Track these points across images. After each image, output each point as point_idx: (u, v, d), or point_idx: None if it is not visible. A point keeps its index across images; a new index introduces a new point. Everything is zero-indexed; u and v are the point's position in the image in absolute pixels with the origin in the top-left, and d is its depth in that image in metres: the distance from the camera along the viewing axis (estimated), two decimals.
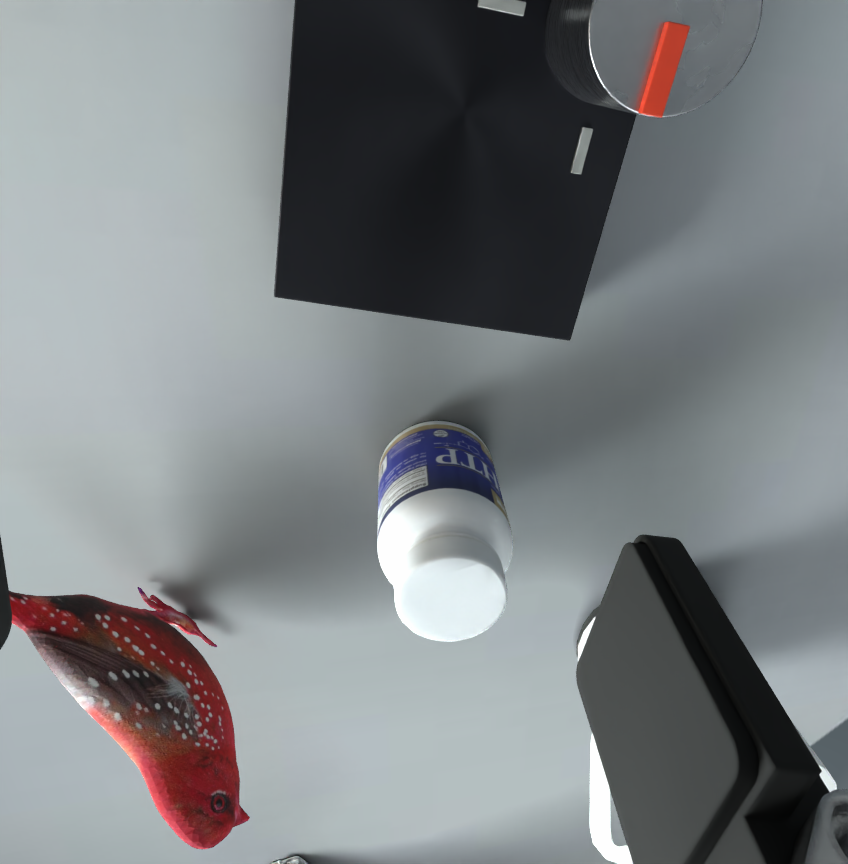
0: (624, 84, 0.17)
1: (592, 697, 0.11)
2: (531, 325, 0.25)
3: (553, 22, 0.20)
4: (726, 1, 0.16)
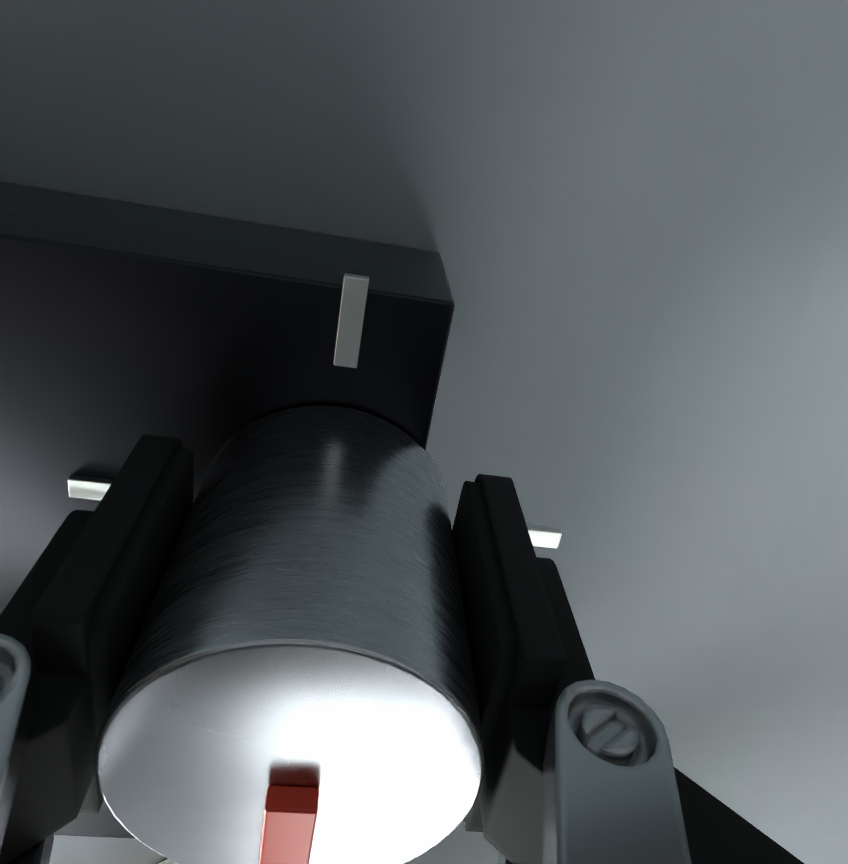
0: (214, 857, 0.08)
1: None
2: None
3: None
4: (400, 749, 0.07)
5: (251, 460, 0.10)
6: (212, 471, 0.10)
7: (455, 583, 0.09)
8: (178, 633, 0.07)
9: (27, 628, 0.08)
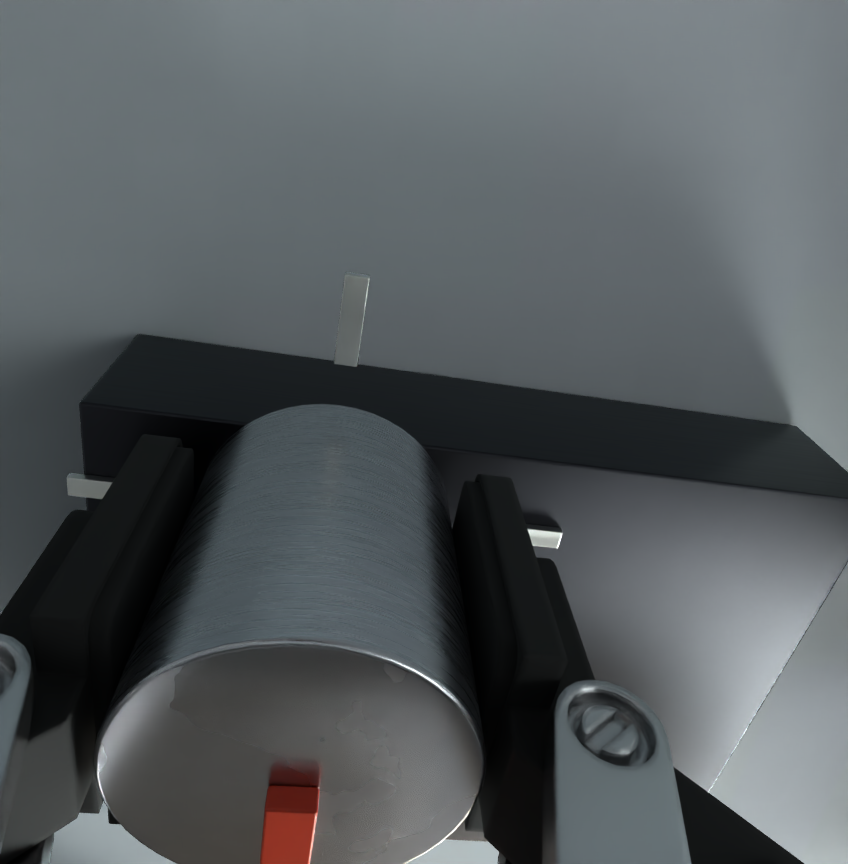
0: (215, 858, 0.08)
1: None
2: (826, 570, 0.13)
3: None
4: (400, 748, 0.07)
5: (249, 459, 0.10)
6: (211, 471, 0.10)
7: (455, 581, 0.09)
8: (175, 633, 0.07)
9: (27, 628, 0.08)
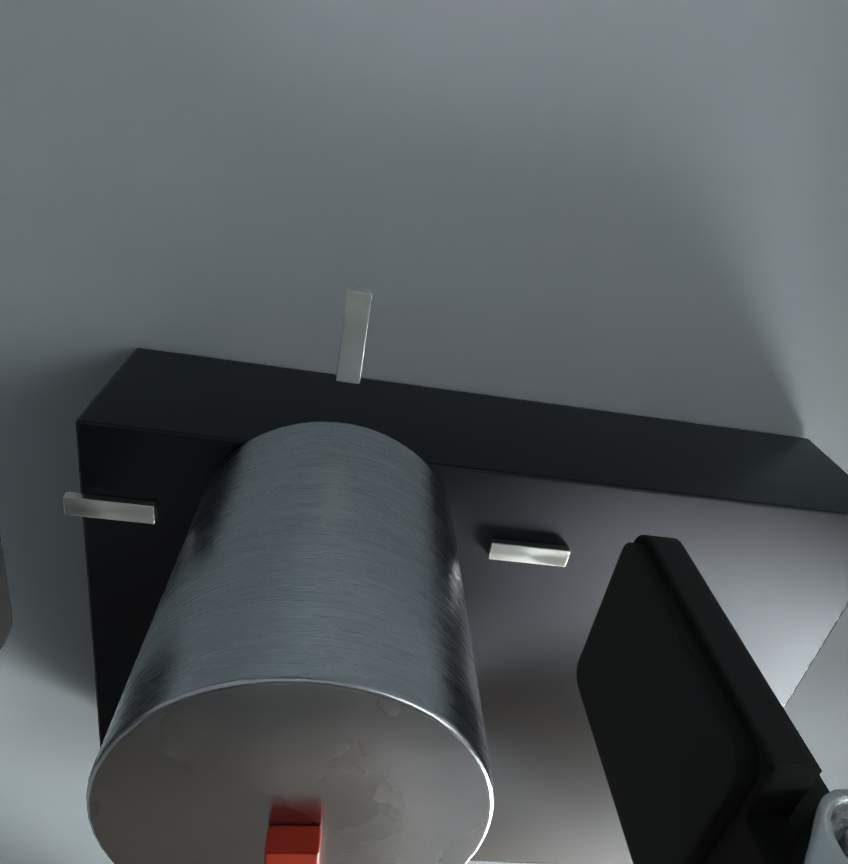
0: None
1: (592, 697, 0.11)
2: (840, 588, 0.13)
3: None
4: (403, 782, 0.07)
5: (242, 484, 0.09)
6: (205, 496, 0.10)
7: (457, 601, 0.09)
8: (163, 673, 0.07)
9: None
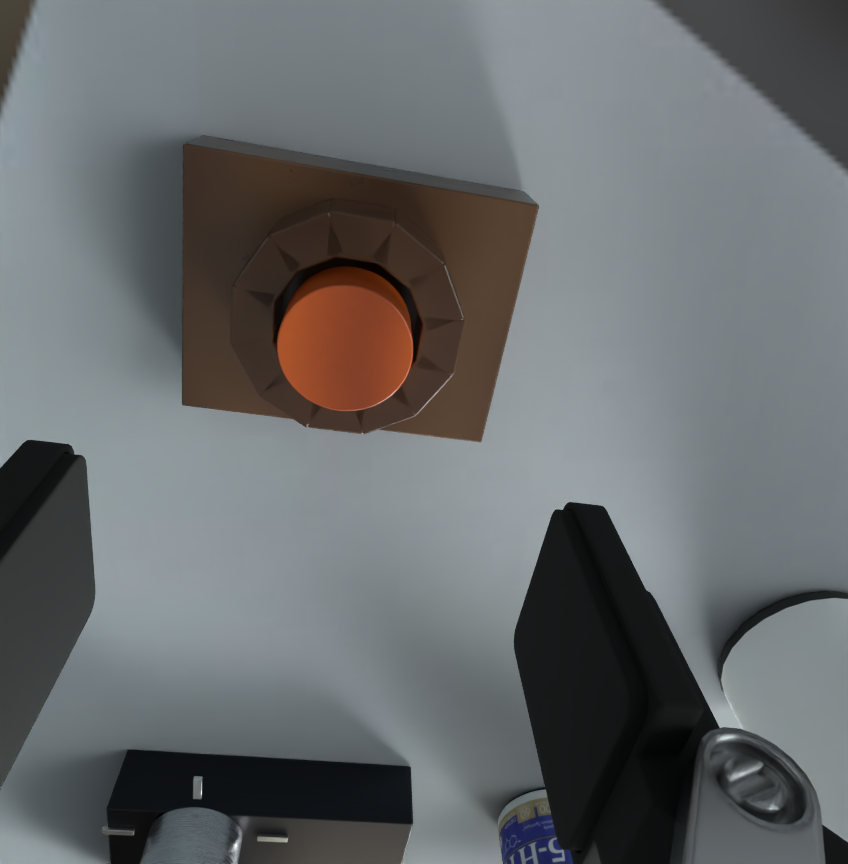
0: None
1: (525, 660, 0.11)
2: (399, 844, 0.33)
3: None
4: None
5: (160, 842, 0.30)
6: (150, 837, 0.30)
7: None
8: None
9: None
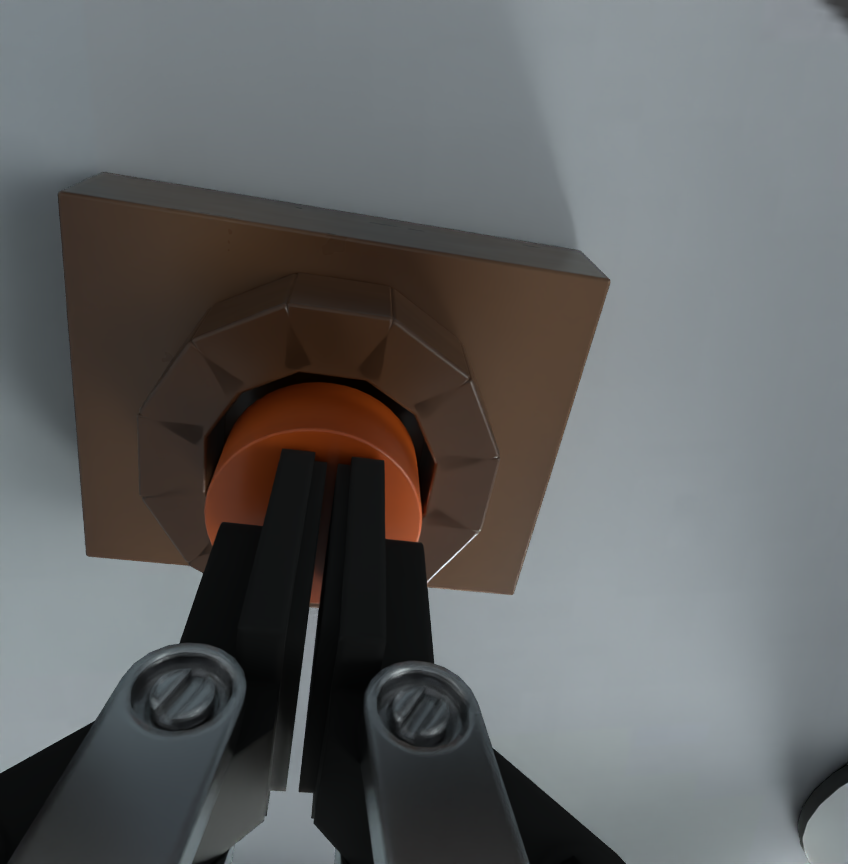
0: None
1: (318, 615, 0.11)
2: None
3: None
4: None
5: None
6: None
7: None
8: None
9: (213, 638, 0.08)
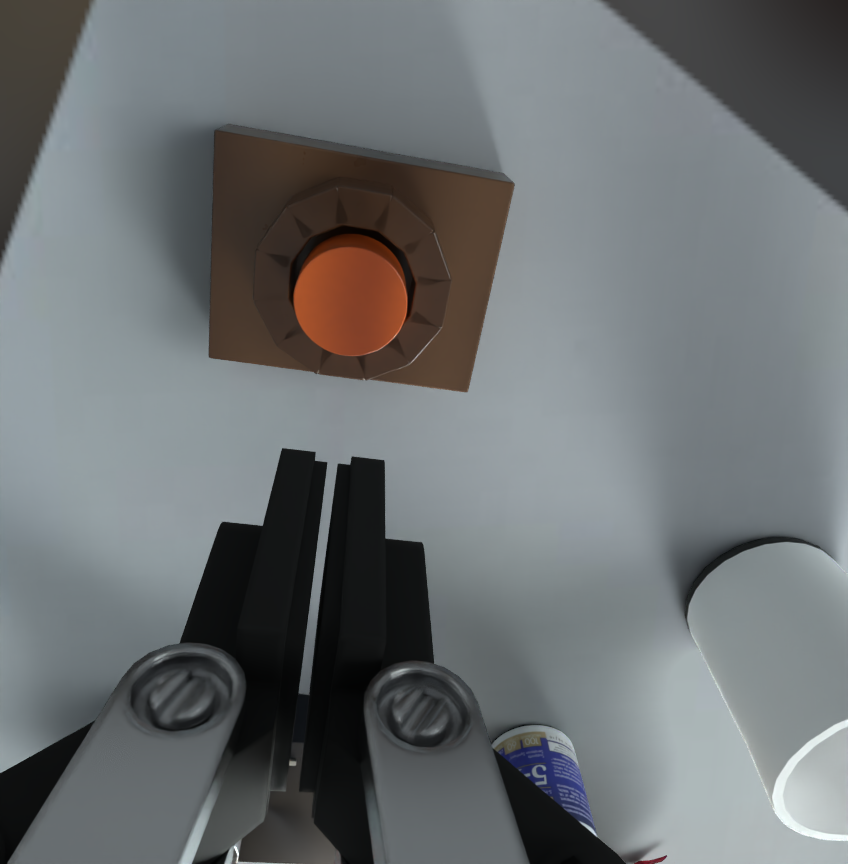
0: None
1: (318, 616, 0.11)
2: None
3: None
4: None
5: None
6: None
7: None
8: None
9: (213, 639, 0.08)
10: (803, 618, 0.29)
